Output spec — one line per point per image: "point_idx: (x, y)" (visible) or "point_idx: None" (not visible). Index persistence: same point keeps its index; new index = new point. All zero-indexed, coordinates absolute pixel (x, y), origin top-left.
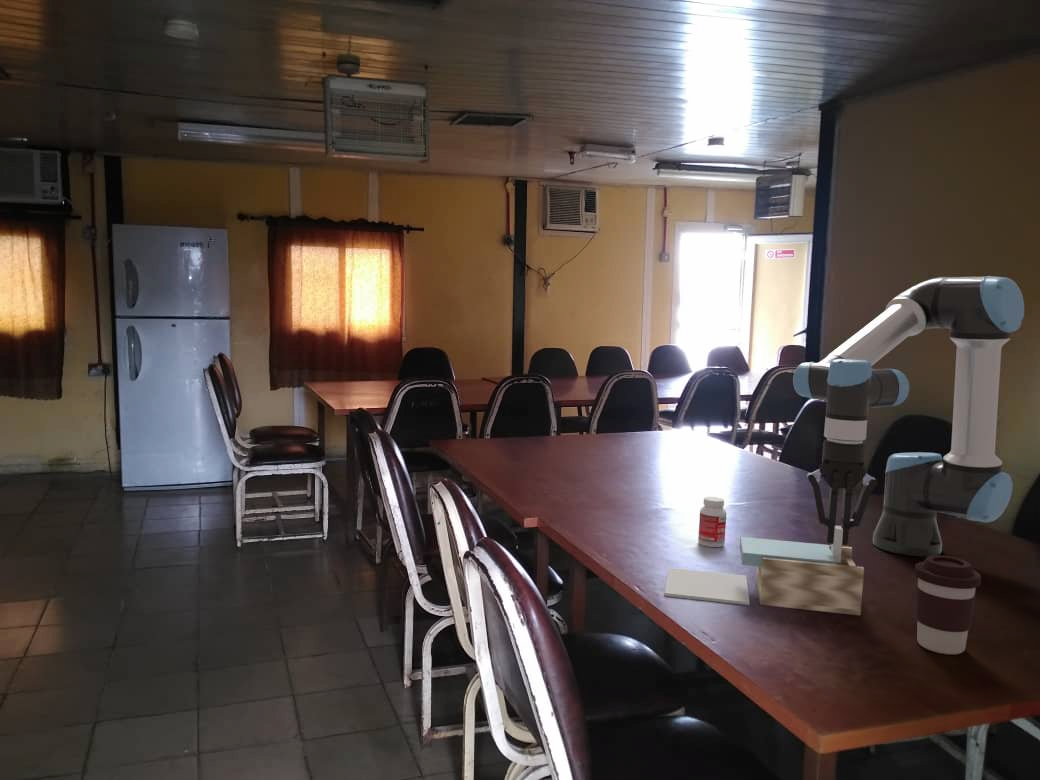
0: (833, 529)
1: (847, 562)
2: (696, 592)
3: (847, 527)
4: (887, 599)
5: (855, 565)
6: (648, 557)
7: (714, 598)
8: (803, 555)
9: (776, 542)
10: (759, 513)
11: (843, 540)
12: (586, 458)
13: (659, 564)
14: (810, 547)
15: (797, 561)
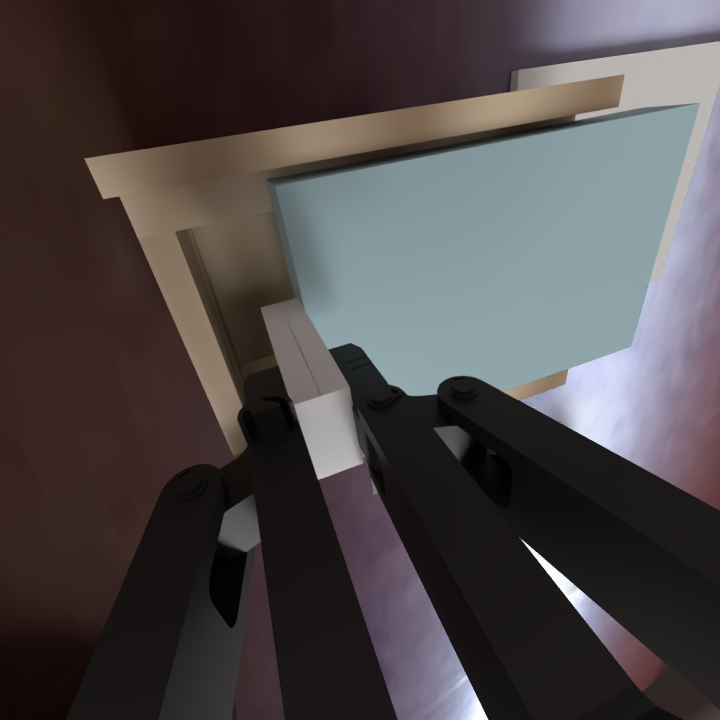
0: (355, 397)
1: (240, 400)
2: (649, 95)
3: (260, 409)
4: (94, 387)
5: (198, 375)
6: (667, 340)
7: (613, 57)
8: (445, 214)
9: (527, 355)
10: (440, 665)
11: (271, 381)
12: (630, 662)
13: (659, 309)
14: (406, 370)
15: (473, 113)
